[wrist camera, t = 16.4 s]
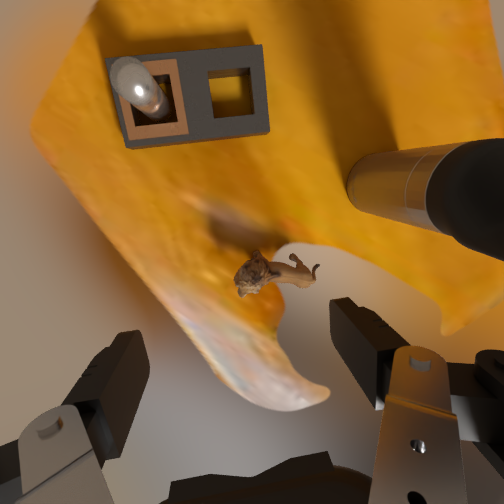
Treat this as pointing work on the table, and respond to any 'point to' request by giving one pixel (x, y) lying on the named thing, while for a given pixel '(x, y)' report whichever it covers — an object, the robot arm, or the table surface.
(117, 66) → the steel peg
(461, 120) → the table surface
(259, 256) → the lion figurine
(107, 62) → the block with square holes
